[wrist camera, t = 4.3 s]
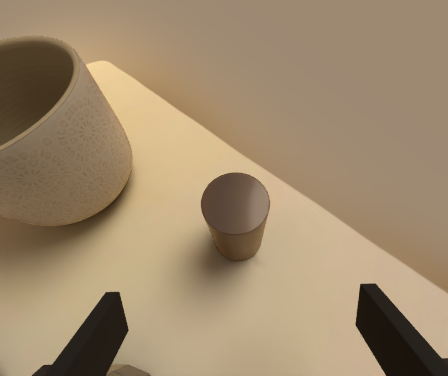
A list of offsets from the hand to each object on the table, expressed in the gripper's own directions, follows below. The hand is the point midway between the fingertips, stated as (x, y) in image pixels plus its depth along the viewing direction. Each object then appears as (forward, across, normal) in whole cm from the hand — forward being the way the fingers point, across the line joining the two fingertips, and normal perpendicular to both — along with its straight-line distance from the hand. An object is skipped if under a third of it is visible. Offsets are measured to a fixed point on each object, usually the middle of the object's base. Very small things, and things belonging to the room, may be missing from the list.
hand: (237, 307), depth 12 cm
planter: (+20, -21, +3) cm, 29 cm away
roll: (+14, 0, -3) cm, 14 cm away
